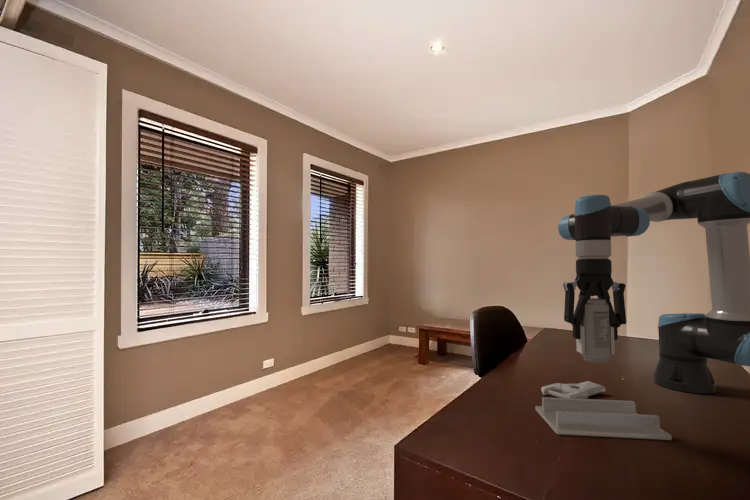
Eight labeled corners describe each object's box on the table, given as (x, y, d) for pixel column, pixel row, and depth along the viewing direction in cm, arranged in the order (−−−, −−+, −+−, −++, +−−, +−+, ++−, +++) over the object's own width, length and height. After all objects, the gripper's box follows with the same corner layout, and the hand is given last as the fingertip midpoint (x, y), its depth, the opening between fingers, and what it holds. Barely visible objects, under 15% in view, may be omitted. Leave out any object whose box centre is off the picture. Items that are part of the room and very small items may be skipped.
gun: (577, 374, 114) (608, 384, 105) (578, 385, 114) (609, 396, 105) (536, 384, 107) (565, 396, 98) (536, 396, 107) (566, 409, 98)
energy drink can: (596, 356, 90) (595, 297, 91) (616, 363, 84) (615, 299, 85) (575, 357, 89) (574, 297, 90) (594, 364, 83) (592, 300, 84)
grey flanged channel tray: (632, 413, 92) (631, 398, 92) (671, 440, 78) (671, 421, 78) (535, 409, 94) (535, 394, 94) (557, 434, 80) (556, 416, 80)
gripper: (624, 258, 90) (627, 350, 89) (547, 258, 92) (548, 348, 91) (644, 258, 83) (647, 358, 82) (559, 257, 85) (561, 355, 84)
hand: (595, 352), depth 87 cm, fingers closed on energy drink can, 6 cm apart
